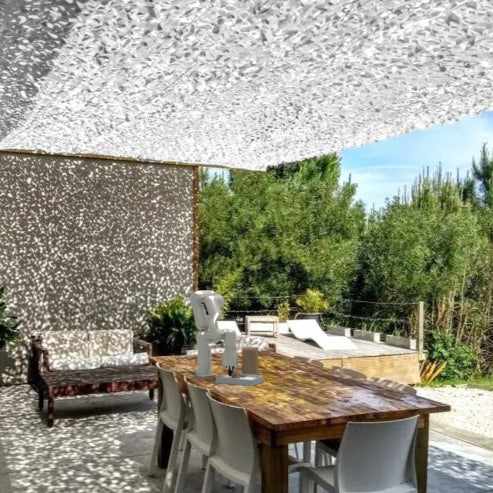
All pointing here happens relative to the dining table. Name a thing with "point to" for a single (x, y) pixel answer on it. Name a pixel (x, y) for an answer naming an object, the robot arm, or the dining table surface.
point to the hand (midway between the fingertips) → (230, 375)
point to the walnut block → (236, 375)
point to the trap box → (241, 380)
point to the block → (250, 360)
